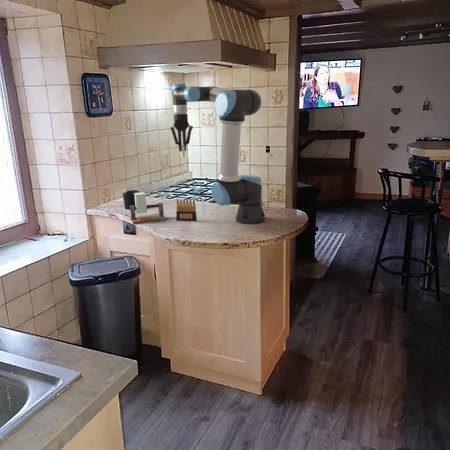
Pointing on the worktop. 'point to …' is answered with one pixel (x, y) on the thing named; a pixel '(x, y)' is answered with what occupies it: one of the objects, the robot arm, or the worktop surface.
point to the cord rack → (147, 217)
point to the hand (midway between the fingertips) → (183, 157)
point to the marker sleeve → (140, 202)
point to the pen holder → (129, 198)
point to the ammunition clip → (186, 210)
